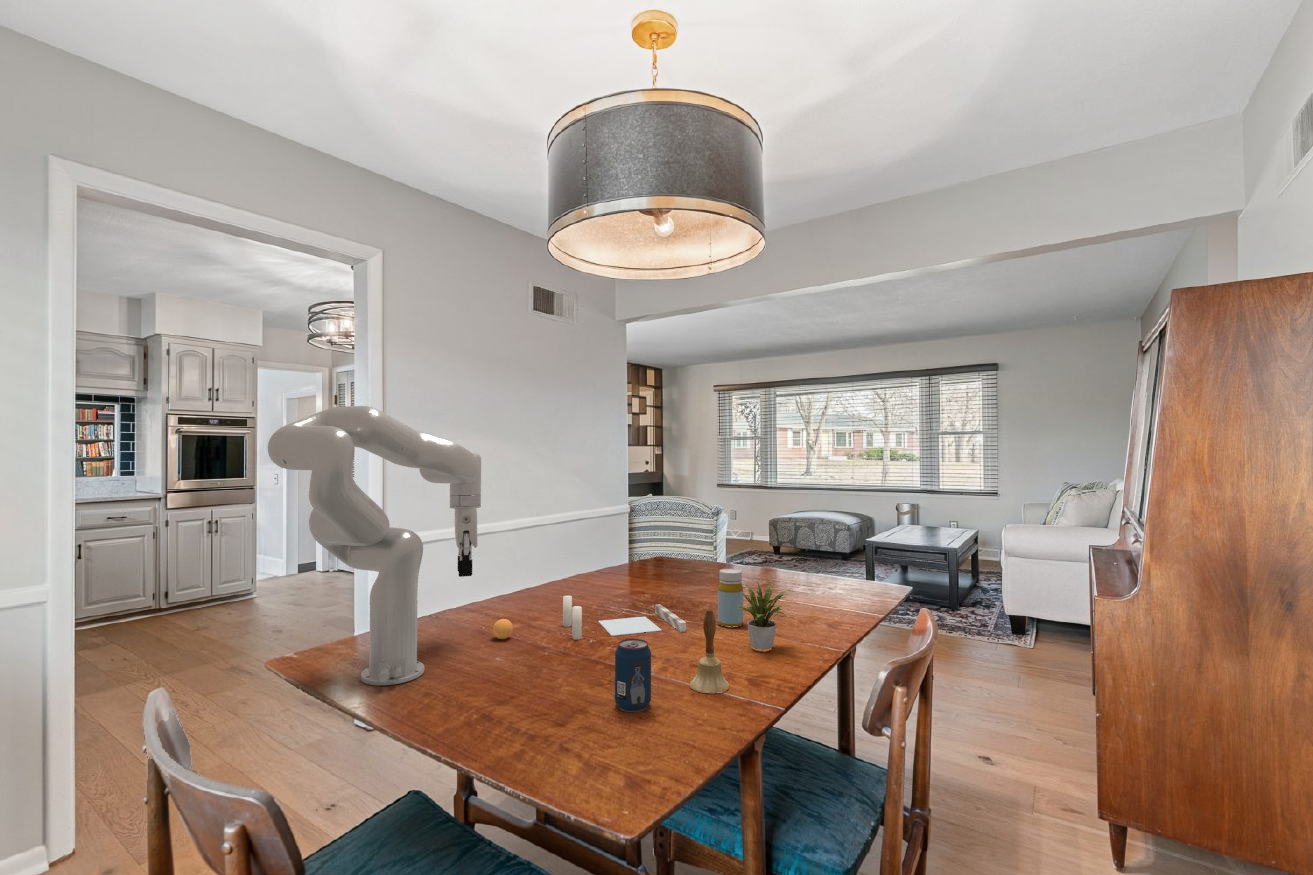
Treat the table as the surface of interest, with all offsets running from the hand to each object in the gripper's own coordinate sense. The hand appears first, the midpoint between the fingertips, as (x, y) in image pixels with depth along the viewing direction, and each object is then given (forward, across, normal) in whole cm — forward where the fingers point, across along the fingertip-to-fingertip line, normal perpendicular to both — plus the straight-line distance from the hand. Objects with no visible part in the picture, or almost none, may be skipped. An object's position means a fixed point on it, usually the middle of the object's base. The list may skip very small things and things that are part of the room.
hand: (464, 572), depth 156 cm
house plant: (+18, -30, -68) cm, 77 cm away
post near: (+18, -6, -28) cm, 33 cm away
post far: (+18, +6, -28) cm, 33 cm away
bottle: (+18, -8, -70) cm, 73 cm away
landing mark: (+18, 0, -44) cm, 47 cm away
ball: (+15, 0, -10) cm, 18 cm away
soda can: (+18, -50, -28) cm, 60 cm away
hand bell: (+18, -46, -46) cm, 68 cm away
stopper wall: (+18, 0, -56) cm, 58 cm away
